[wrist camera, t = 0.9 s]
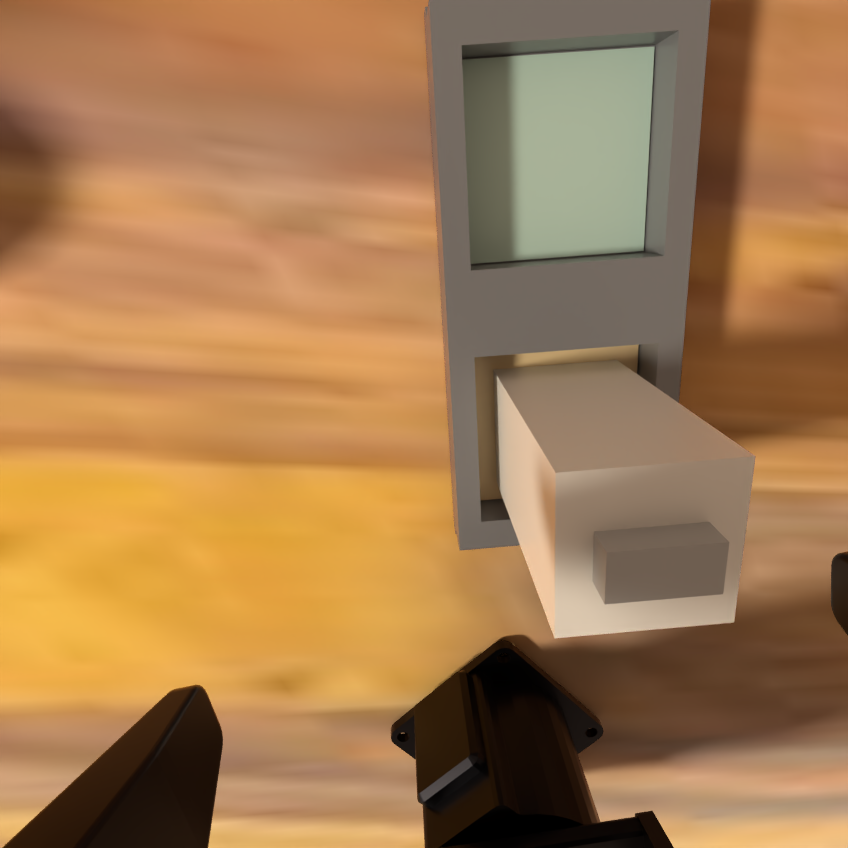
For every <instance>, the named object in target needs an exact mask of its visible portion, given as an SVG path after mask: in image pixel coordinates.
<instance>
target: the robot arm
mask: <svg viewBox="0 0 848 848" xmlns="http://www.w3.org/2000/svg"><path fill="white" fill-rule="evenodd" d="M831 606H832V610H833V613H834V615H835V617H836V619H837V621H838V623H839V624H840V625H841V627H842V628H843V629H844V631H845V632H846V634H847V635H848V552H843V553H839V554H837V555H836V556H835V557H834V558H833V560H832V565H831ZM502 653H508V654H507V655H505V656H499V655H500V654H502ZM589 728H591V729H589ZM402 732H405V734H401V733H402ZM602 734H603V728H602V725H601V723H600V721H599V719H598V718H597V717H596V716H595V715H594V714H592V713H591V712H590V711H589V710H588V709H587V708H586V707H584V706H583V705H582V704H581V703H580V702H579V701H577V700H576V699H575V698H574V697H573V696H572V695H571V694H569V693H568V692H567V691H566V690H565V689H564V688H562V687H561V686H560V685H559V684H558V683H557V682H556V681H554V680H553V679H552V678H551V677H550V676H549V675H547V674H546V673H545V672H544V671H543V670H542V669H541V668H539V667H538V666H537V665H536V664H535V663H534V662H532V661H531V660H530V659H529V658H528V657H527V656H526V655H524V654H523V653H522V652H521V651H520V650H519V649H517V648H516V647H515V646H514V645H513V644H512V643H510V642H508V641H498V642H496V643H495V644H493V645H492V646H491V647H489V648H488V649H487V650H486V651H484V652H483V653H482V654H481V655H479V656H478V657H477V658H476V659H474V660H473V661H472V662H470V663H469V664H468V665H467V666H465V667H464V668H463V669H462V670H460V671H459V672H457V673H456V674H454V675H453V676H452V677H451V678H449V679H448V680H447V681H446V682H444V683H443V684H442V685H440V686H439V687H438V688H437V689H435V690H434V691H433V692H432V693H430V694H429V695H428V696H427V697H425V698H424V699H423V700H422V701H420V702H419V703H418V704H417V705H415V707H414V708H413V709H411V710H410V711H409V712H408V713H406V714H405V715H404V716H402V717H401V718H400V719H399V720H397V721H396V722H395V723H394V724H393V725H392V728H391V739H392V742H393V743H394V744H395V745H397V746H398V747H399V748H401V749H402V750H403V751H405V752H406V753H408V754H409V755H410V756H412V757H413V758H414V759H416V777H417V799H418V802H419V803H421V804H422V805H423V819H424V840H425V848H674V847H673V846H672V844H671V842H670V840H669V839H668V837H667V835H666V834H665V832H664V830H663V828H662V827H661V825H660V823H659V821H658V820H657V818H656V816H655V814H654V813H653V811H648V812H641V813H635V817H631V818H624V819H618V820H611V821H605V822H600V820H599V817H598V814H597V811H596V808H595V805H594V802H593V799H592V796H591V793H590V790H589V787H588V784H587V781H586V778H585V775H584V772H583V769H582V766H581V763H580V760H579V757H578V753H580V752H581V751H583V750H584V749H585V748H587V747H588V746H590V745H591V744H592V743H594V742H595V741H597V740H598V739H599V738H600V737H601V736H602ZM222 745H223V736H222V730H221V726H220V724H219V721H218V719H217V716H216V714H215V712H214V709H213V707H212V704H211V702H210V700H209V697H208V695H207V693H206V691H205V689H204V688H203V687H202V686H200V685H193V686H188V687H183V688H178V689H174V690H172V691H170V692H169V693H168V694H167V695H166V696H165V697H163V698H162V699H161V700H160V701H159V702H158V703H157V704H156V705H155V706H154V707H153V708H152V709H151V710H149V711H148V712H147V713H146V714H145V715H144V716H143V717H142V718H141V719H140V720H139V721H138V722H137V723H136V724H134V725H133V726H132V727H131V728H130V729H129V730H128V731H127V732H126V733H125V734H124V735H123V736H122V737H121V738H119V739H118V740H117V741H116V742H115V743H114V744H113V745H112V746H111V747H110V748H109V749H108V750H107V751H106V752H104V753H103V754H102V755H101V756H100V757H99V758H98V759H97V760H96V761H95V762H94V763H93V764H92V765H90V766H89V767H88V768H87V769H86V770H85V771H84V772H83V773H82V774H81V775H80V776H79V777H78V778H77V779H75V780H74V781H73V782H72V783H71V784H70V785H69V786H68V787H67V788H66V789H65V790H64V791H63V792H62V793H60V794H59V795H58V796H57V797H56V798H55V799H54V800H53V801H52V802H51V803H50V804H49V805H48V806H46V807H45V808H44V809H43V810H42V811H41V812H40V813H39V814H38V815H37V816H36V817H35V818H34V819H33V820H31V821H30V822H29V823H28V824H27V825H26V826H25V827H24V828H23V829H22V830H21V831H20V832H19V833H18V834H16V835H15V836H14V837H13V838H12V839H11V840H10V841H9V842H8V843H7V844H6V845H5V846H4V847H2V848H208V844H209V837H210V830H211V823H212V816H213V809H214V802H215V795H216V788H217V781H218V774H219V767H220V760H221V753H222Z"/></svg>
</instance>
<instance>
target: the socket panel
mask: <svg viewBox="0 0 848 848" xmlns="http://www.w3.org/2000/svg"><path fill="white" fill-rule="evenodd" d="M710 4H711V0H429V3H428V7H425V12H424V18H425V35H426V52H427V69H428V86H429V103H430V120H431V137H432V154H433V171H434V188H435V205H436V222H437V240H438V257H439V274H440V291H441V308H442V325H443V342H444V359H445V376H446V393H447V410H448V427H449V444H450V461H451V478H452V495H453V512H454V527H455V532H456V534H457V538H458V544H459V549H460V550H470V549H482V548H494V547H505V546H517V545H520V544H519V541H518V538H517V536H516V533H515V530H514V527H513V525H512V522H511V519H510V517H509V514H508V511H507V509H506V506H505V503H504V500H503V498H502V495H501V492H500V490H499V487H498V484H497V476H496V444H495V411H494V378H493V369H505V368H518V367H531V366H543V365H556V364H569V363H581V362H594V361H607V360H618V361H619V362H620V363H622V364H623V365H625V366H626V367H628V368H629V369H631V370H632V371H633V372H635V373H636V374H638V375H639V376H641V377H642V378H643V379H645V380H646V381H648V382H649V383H651V384H652V385H654V386H655V387H656V388H658V389H659V390H661V391H662V392H664V393H665V394H667V395H668V396H669V397H671V398H672V399H674V400H675V401H677V402H678V403H679V395H680V382H681V369H682V357H683V344H684V332H685V319H686V306H687V294H688V281H689V269H690V256H691V243H692V231H693V218H694V206H695V193H696V180H697V168H698V155H699V143H700V130H701V118H702V105H703V92H704V80H705V67H706V55H707V42H708V29H709V17H710Z"/></svg>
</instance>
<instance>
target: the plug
mask: <svg viewBox="0 0 848 848" xmlns="http://www.w3.org/2000/svg"><path fill="white" fill-rule="evenodd" d="M493 378H494V411H495V444H496V476H497V484H498V487H499V490H500V492H501V495H502V498H503V500H504V503H505V506H506V509H507V511H508V514H509V517H510V519H511V522H512V525H513V527H514V530H515V533H516V536H517V538H518V541H519V544H520V546H521V549H522V552H523V554H524V557H525V560H526V562H527V565H528V568H529V571H530V573H531V576H532V579H533V581H534V584H535V587H536V589H537V592H538V595H539V598H540V600H541V603H542V606H543V608H544V611H545V614H546V616H547V619H548V622H549V625H550V627H551V630H552V633H553V635H554V638H564V637H575V636H586V635H598V634H609V633H620V632H632V631H643V630H654V629H666V628H677V627H688V626H700V625H711V624H722V623H734V619H735V611H736V604H737V596H738V588H739V580H740V573H741V565H742V557H743V549H744V542H745V534H746V526H747V518H748V511H749V503H750V495H751V487H752V480H753V472H754V464H755V456H754V455H753V454H752V453H750V452H749V451H747V450H746V449H744V448H743V447H741V446H740V445H739V444H737V443H736V442H734V441H733V440H731V439H730V438H728V437H727V436H726V435H724V434H723V433H721V432H720V431H718V430H717V429H716V428H714V427H713V426H711V425H710V424H708V423H707V422H705V421H704V420H703V419H701V418H700V417H698V416H697V415H695V414H694V413H692V412H691V411H690V410H688V409H687V408H685V407H684V406H682V405H681V404H679V403H678V402H677V401H675V400H674V399H672V398H671V397H669V396H668V395H667V394H665V393H664V392H662V391H661V390H659V389H658V388H656V387H655V386H654V385H652V384H651V383H649V382H648V381H646V380H645V379H643V378H642V377H641V376H639V375H638V374H636V373H635V372H633V371H632V370H631V369H629V368H628V367H626V366H625V365H623V364H622V363H620V362H619V361H618V360H607V361H594V362H581V363H569V364H556V365H543V366H531V367H518V368H505V369H493Z"/></svg>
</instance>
